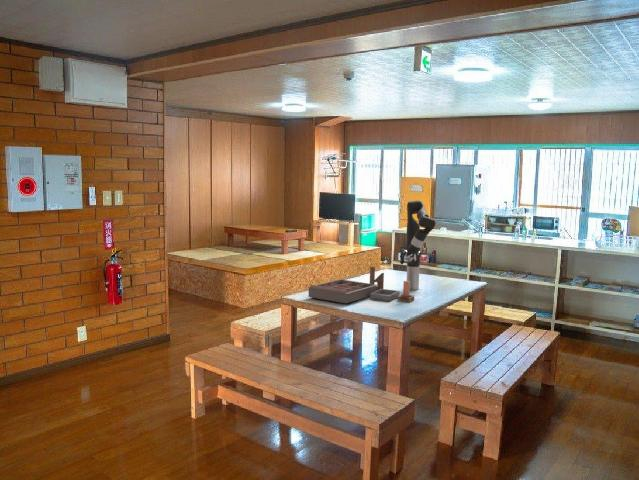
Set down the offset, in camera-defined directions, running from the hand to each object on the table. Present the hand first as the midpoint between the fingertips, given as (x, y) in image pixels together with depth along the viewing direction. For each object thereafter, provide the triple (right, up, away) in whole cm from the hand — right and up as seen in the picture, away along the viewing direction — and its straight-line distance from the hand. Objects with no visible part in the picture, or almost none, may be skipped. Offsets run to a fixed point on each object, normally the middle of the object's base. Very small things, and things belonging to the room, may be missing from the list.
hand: (406, 264), depth 356 cm
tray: (-13, -24, +12) cm, 29 cm away
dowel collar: (0, -25, +5) cm, 25 cm away
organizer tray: (-42, -24, +12) cm, 50 cm away
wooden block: (-17, -22, +34) cm, 44 cm away
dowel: (0, -25, +5) cm, 25 cm away
